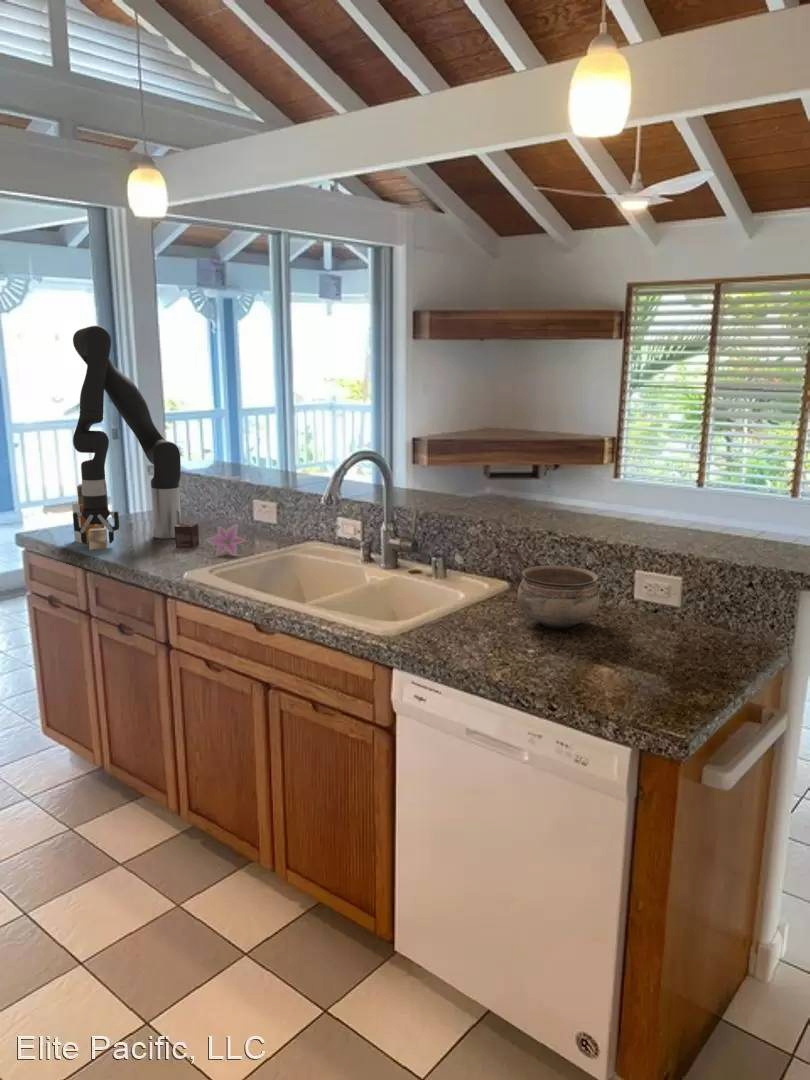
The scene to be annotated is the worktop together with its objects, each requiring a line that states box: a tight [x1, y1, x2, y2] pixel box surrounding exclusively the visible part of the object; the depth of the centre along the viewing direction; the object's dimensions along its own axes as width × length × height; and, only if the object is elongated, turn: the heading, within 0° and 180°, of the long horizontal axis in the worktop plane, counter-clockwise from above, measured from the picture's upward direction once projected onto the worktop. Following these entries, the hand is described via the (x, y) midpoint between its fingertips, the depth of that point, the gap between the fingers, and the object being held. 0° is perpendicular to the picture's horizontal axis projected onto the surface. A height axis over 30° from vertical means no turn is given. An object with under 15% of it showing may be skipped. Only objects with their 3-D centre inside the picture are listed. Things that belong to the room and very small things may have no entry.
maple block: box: [88, 527, 109, 551], centre depth 261 cm, size 5×5×6 cm
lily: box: [206, 523, 246, 557], centre depth 256 cm, size 11×11×9 cm
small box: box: [71, 502, 105, 545], centre depth 269 cm, size 8×6×13 cm
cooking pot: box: [517, 564, 601, 630], centre depth 188 cm, size 25×19×12 cm
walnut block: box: [76, 483, 83, 504], centre depth 267 cm, size 5×5×6 cm
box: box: [174, 522, 200, 549], centre depth 264 cm, size 6×6×7 cm
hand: (98, 543), depth 261 cm, fingers open, 7 cm apart
